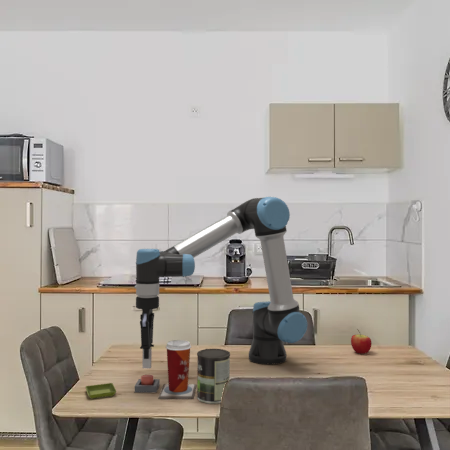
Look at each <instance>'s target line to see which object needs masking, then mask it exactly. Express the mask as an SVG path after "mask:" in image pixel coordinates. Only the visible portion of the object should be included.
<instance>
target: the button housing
mask: <svg viewBox="0 0 450 450" xmlns="http://www.w3.org/2000/svg"><path fill="white" fill-rule="evenodd" d="M160 381H161V380H160V379H159V378H155V379H154V378H153V385H141V378H138V380H137V381H136V382H135V384H134V393H153V394H154V393H157V392H158V389H159V387H160Z"/></svg>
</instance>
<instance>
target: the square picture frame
mask: <svg viewBox="0 0 450 450" xmlns="http://www.w3.org/2000/svg"><path fill="white" fill-rule="evenodd" d="M196 390H197V383H188V388H187V390H186V391H184V392H172V391H170V390H169V383H164V384H163V385H162V387H161V390H160V392H159V394H158V397H157V399H158V400H195V395H196V392H197V391H196Z"/></svg>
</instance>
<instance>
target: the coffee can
mask: <svg viewBox="0 0 450 450" xmlns="http://www.w3.org/2000/svg"><path fill="white" fill-rule="evenodd" d="M196 356H197V366H196V367H197V371H196V372H197V376H196V377H197V379H196V380H197V383H196V384H197V387H196V390H197V391H196V399H197V400H198V401H199V402H200V403H204V404H210V405H216V404H217V405H218V404H221V403H220V402H221V397H222V392H223V388H224V385H225V383H226V382H227V381H228V380H229V381H230V373H231V372H230V370H231V369H230V362H231V361H230V360H231V358H230V356H231V352H230V351H229V350H226V349H223V348H205V349H201V350H199V351H197V353H196Z"/></svg>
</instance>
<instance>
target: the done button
mask: <svg viewBox="0 0 450 450" xmlns="http://www.w3.org/2000/svg"><path fill="white" fill-rule="evenodd" d="M140 379H141V385H153V379H154V375H153V374H143V375H141V376H140Z"/></svg>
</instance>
